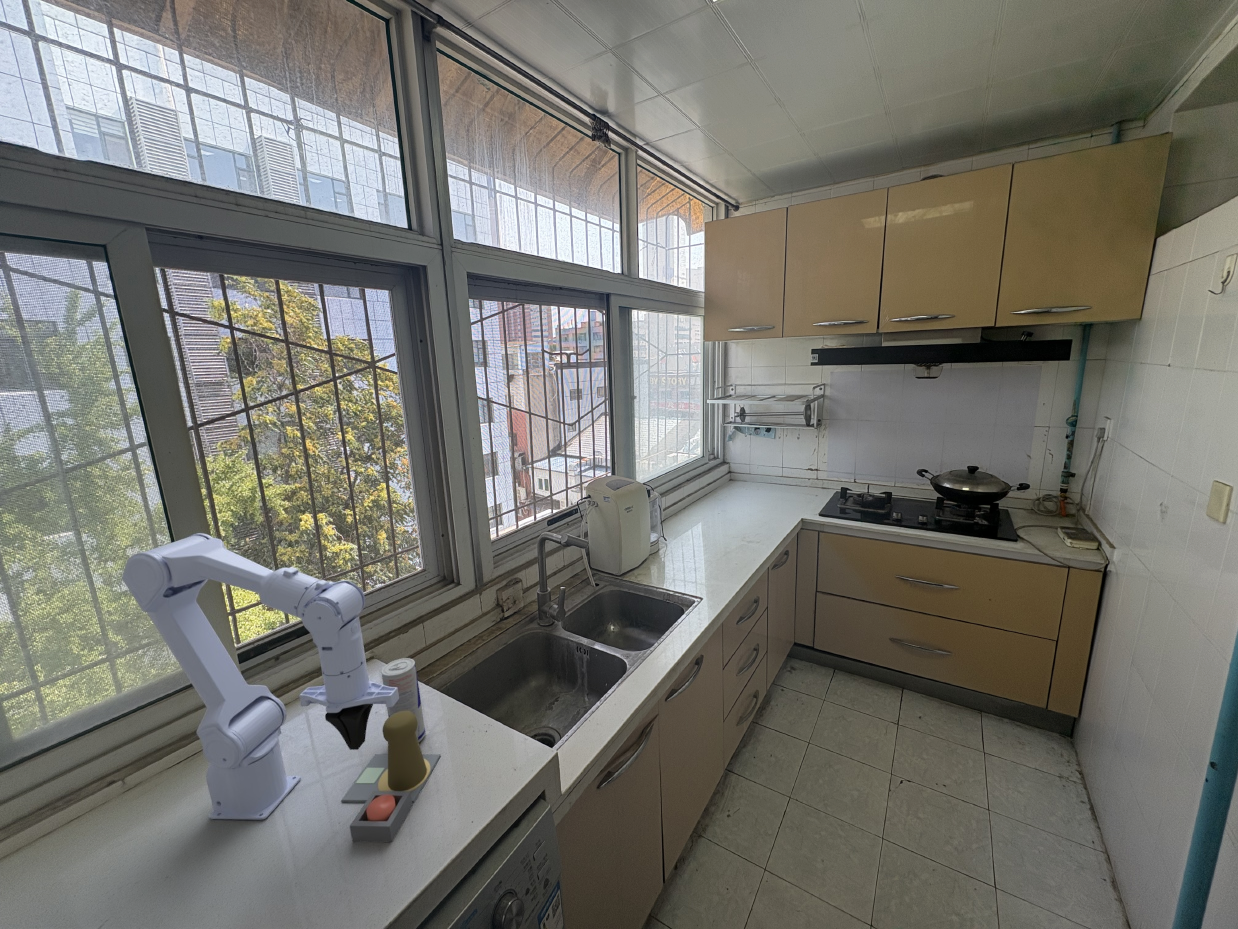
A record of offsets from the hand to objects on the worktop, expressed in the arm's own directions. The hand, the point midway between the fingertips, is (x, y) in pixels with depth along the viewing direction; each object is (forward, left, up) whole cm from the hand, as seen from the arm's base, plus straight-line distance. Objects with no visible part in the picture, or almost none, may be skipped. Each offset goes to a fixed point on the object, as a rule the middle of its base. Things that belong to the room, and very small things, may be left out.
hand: (357, 745), depth 75 cm
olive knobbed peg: (+4, +5, -10) cm, 12 cm away
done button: (+5, -4, -10) cm, 11 cm away
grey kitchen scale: (+2, +5, -10) cm, 11 cm away
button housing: (+5, -4, -10) cm, 12 cm away
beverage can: (0, +14, -11) cm, 17 cm away
